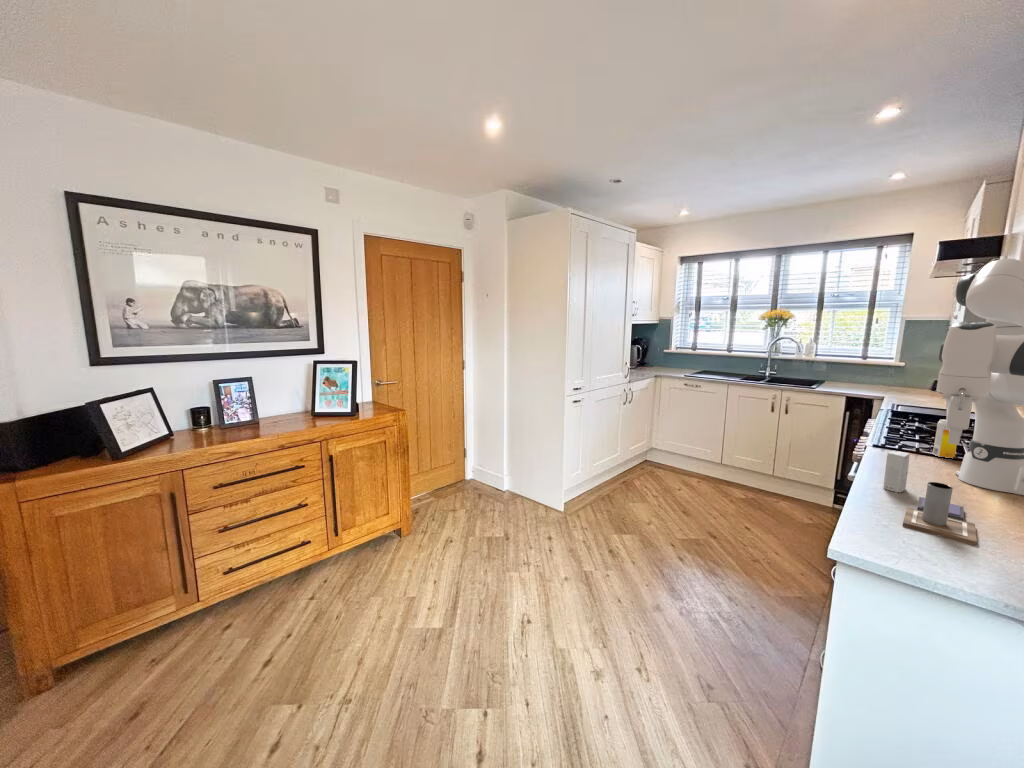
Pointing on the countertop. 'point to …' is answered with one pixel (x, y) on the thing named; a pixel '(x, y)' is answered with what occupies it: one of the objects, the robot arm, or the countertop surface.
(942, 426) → the white and yellow box
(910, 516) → the marked board
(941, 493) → the planter
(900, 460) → the skincare box
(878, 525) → the countertop surface
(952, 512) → the ink pad
